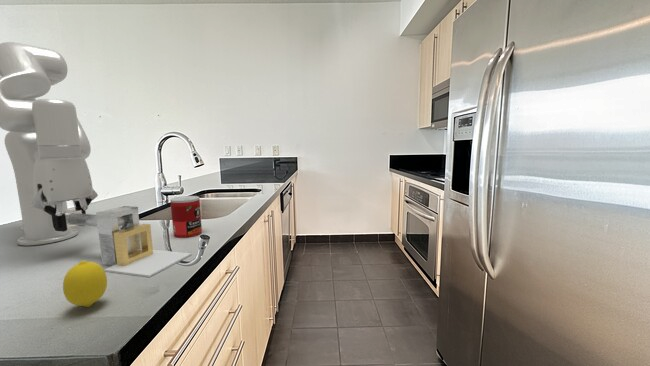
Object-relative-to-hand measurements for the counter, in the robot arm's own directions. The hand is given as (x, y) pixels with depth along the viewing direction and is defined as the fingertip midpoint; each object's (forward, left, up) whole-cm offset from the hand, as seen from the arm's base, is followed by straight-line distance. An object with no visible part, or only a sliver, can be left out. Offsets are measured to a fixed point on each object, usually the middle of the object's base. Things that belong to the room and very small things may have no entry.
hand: (71, 227), depth 70 cm
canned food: (+17, +20, -7) cm, 27 cm away
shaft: (+8, 0, 0) cm, 8 cm away
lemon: (+29, -17, -7) cm, 34 cm away
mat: (+24, 0, -7) cm, 24 cm away
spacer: (+19, 0, -3) cm, 19 cm away
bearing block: (+16, 0, -7) cm, 17 cm away
